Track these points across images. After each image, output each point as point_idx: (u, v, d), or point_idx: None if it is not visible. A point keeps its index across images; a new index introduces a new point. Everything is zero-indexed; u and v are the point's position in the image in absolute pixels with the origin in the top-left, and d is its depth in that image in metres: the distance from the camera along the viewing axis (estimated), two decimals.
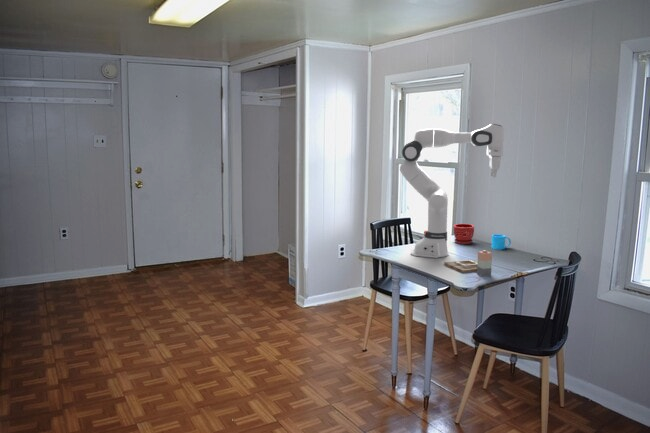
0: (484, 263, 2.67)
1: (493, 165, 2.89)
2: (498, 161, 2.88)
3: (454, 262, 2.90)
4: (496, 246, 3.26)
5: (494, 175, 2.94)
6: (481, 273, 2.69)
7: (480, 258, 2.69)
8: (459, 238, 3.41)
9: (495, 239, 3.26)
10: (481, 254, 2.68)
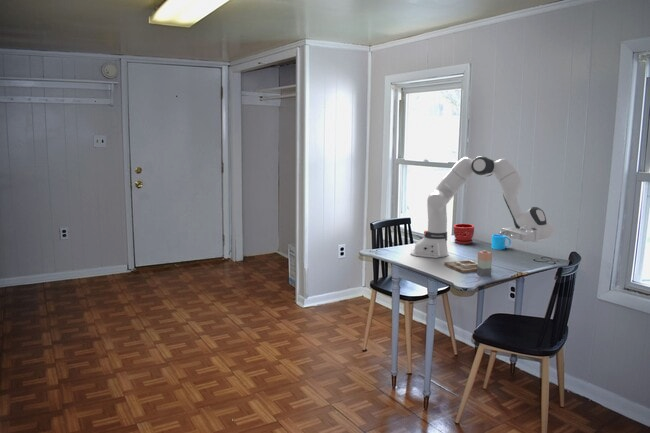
0: (484, 263, 2.67)
1: (529, 235, 2.64)
2: (532, 239, 2.66)
3: (454, 262, 2.90)
4: (496, 246, 3.26)
5: (513, 237, 2.67)
6: (481, 273, 2.69)
7: (480, 258, 2.69)
8: (459, 238, 3.41)
9: (495, 239, 3.26)
10: (481, 254, 2.68)
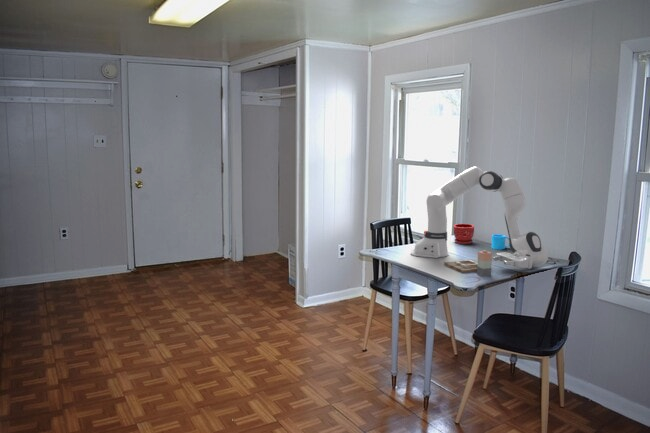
0: (484, 263, 2.67)
1: (523, 262, 2.66)
2: (526, 266, 2.67)
3: (454, 262, 2.90)
4: (496, 246, 3.26)
5: (507, 263, 2.68)
6: (481, 273, 2.69)
7: (480, 258, 2.69)
8: (459, 238, 3.41)
9: (495, 239, 3.26)
10: (481, 254, 2.68)
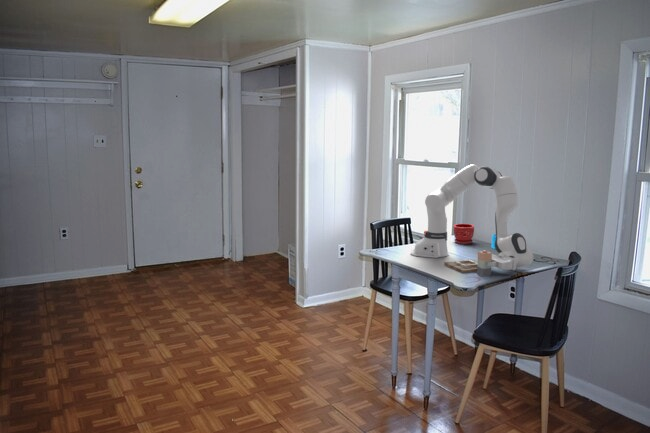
0: (484, 263, 2.67)
1: (506, 263, 2.62)
2: (509, 267, 2.64)
3: (454, 262, 2.90)
4: None
5: (489, 264, 2.66)
6: (481, 273, 2.69)
7: (480, 258, 2.69)
8: (459, 238, 3.41)
9: (495, 239, 3.26)
10: (481, 254, 2.68)
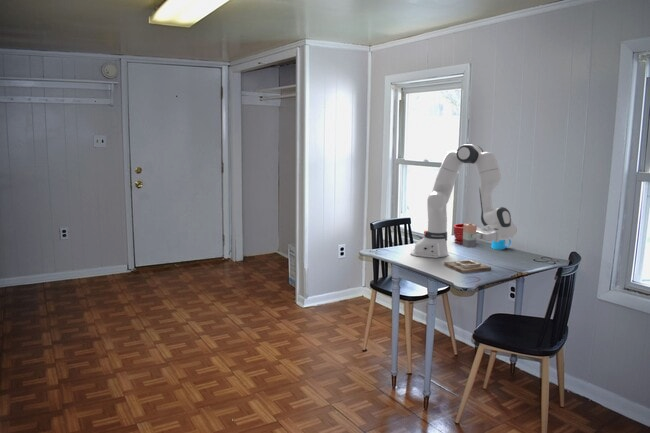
0: (469, 235, 2.78)
1: (490, 235, 2.73)
2: (493, 239, 2.74)
3: (454, 262, 2.90)
4: (496, 246, 3.26)
5: (474, 236, 2.77)
6: (466, 245, 2.79)
7: (465, 231, 2.80)
8: (459, 238, 3.41)
9: None
10: (466, 226, 2.78)
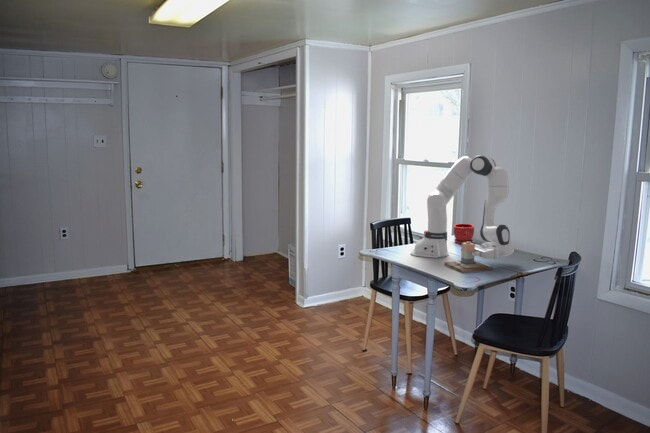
0: (467, 253, 2.81)
1: (488, 252, 2.76)
2: (491, 256, 2.77)
3: (454, 262, 2.90)
4: None
5: (474, 254, 2.79)
6: (464, 263, 2.83)
7: (463, 249, 2.83)
8: (459, 238, 3.41)
9: None
10: (464, 245, 2.82)
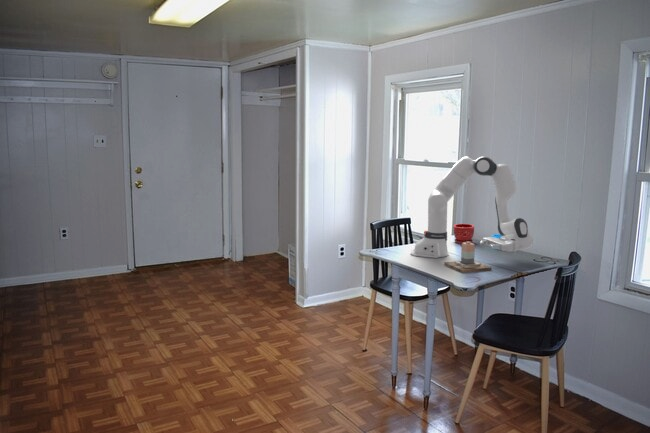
0: (467, 253, 2.81)
1: (508, 245, 2.80)
2: (511, 249, 2.81)
3: (454, 262, 2.90)
4: None
5: (493, 246, 2.82)
6: (464, 263, 2.83)
7: (463, 249, 2.83)
8: (459, 238, 3.41)
9: None
10: (464, 245, 2.82)
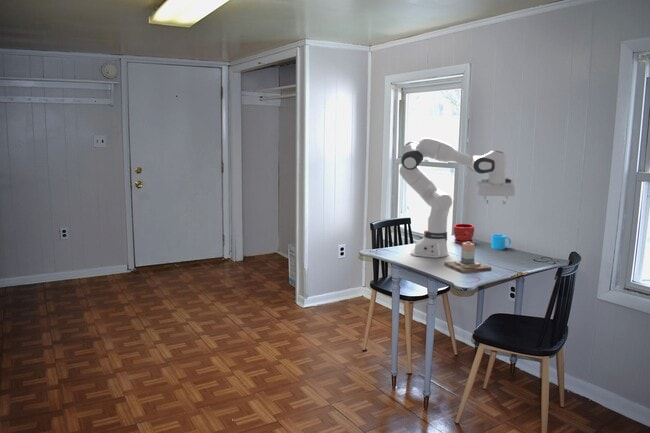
0: (467, 253, 2.81)
1: (514, 192, 2.90)
2: None
3: (454, 262, 2.90)
4: (496, 246, 3.26)
5: (505, 202, 2.93)
6: (464, 263, 2.83)
7: (463, 249, 2.83)
8: (459, 238, 3.41)
9: (495, 239, 3.26)
10: (464, 245, 2.82)
